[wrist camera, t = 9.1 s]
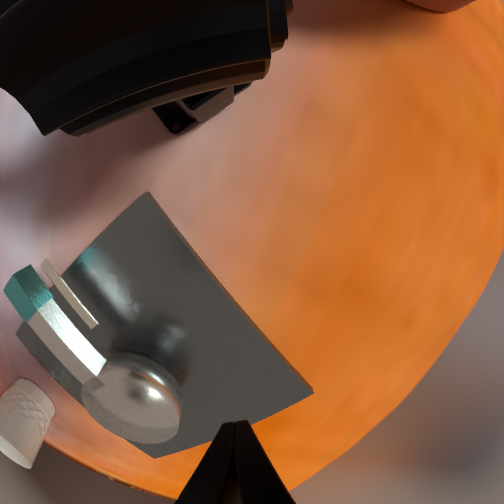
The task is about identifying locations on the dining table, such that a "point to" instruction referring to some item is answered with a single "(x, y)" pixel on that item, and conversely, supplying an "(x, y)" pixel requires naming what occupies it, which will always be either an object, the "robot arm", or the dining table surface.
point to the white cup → (24, 421)
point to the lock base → (169, 326)
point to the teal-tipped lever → (102, 369)
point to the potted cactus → (441, 4)
